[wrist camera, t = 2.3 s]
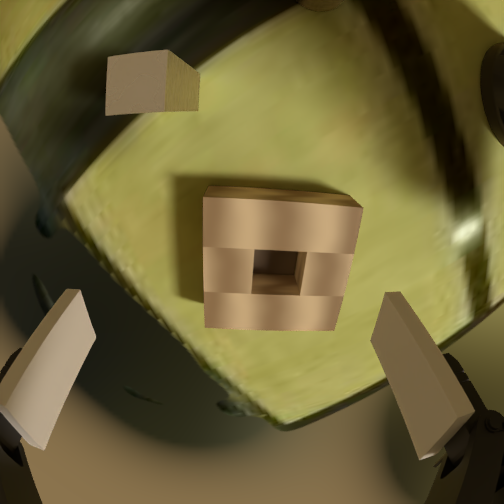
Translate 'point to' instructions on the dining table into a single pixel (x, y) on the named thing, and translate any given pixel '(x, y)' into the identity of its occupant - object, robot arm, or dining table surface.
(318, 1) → the round bit
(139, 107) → the square bit
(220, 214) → the socket block
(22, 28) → the dining table surface
